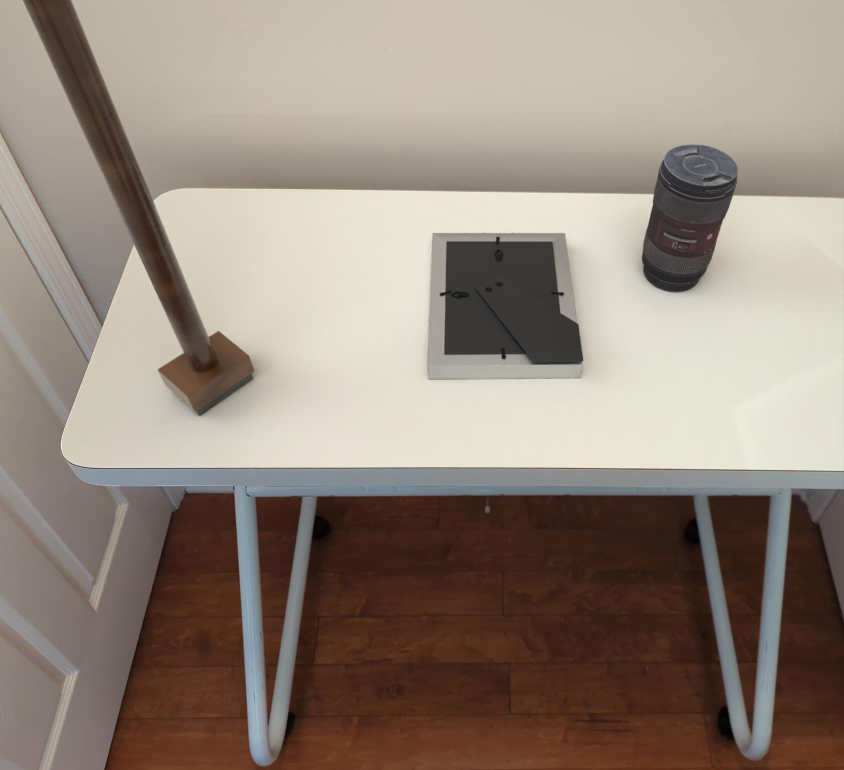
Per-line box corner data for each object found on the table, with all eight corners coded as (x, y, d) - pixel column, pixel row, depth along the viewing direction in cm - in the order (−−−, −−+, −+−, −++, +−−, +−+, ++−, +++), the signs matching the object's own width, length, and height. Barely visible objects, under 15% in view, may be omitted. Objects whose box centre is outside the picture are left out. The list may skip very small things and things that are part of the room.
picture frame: (580, 378, 78) (563, 246, 91) (583, 360, 76) (565, 227, 89) (428, 379, 77) (433, 246, 90) (426, 361, 75) (432, 227, 88)
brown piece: (198, 419, 73) (-8, -8, 42) (168, 392, 75) (-50, -35, 44) (257, 378, 76) (107, -44, 45) (227, 354, 78) (64, -68, 47)
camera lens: (720, 282, 88) (757, 173, 76) (665, 305, 85) (694, 196, 74) (677, 242, 92) (706, 133, 81) (624, 263, 89) (645, 153, 78)
